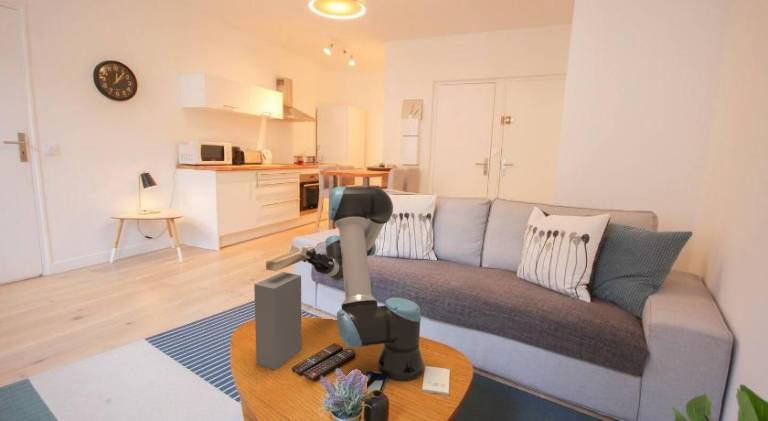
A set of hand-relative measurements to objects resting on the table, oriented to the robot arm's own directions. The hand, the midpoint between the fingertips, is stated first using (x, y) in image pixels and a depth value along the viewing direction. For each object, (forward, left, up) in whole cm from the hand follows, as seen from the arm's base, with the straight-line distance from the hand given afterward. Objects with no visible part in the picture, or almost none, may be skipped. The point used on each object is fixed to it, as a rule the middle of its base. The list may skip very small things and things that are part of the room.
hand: (295, 249), depth 132 cm
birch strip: (0, +2, -4) cm, 5 cm away
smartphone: (-36, +10, -37) cm, 53 cm away
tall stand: (0, +9, -36) cm, 38 cm away
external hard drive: (-53, -2, -37) cm, 65 cm away
